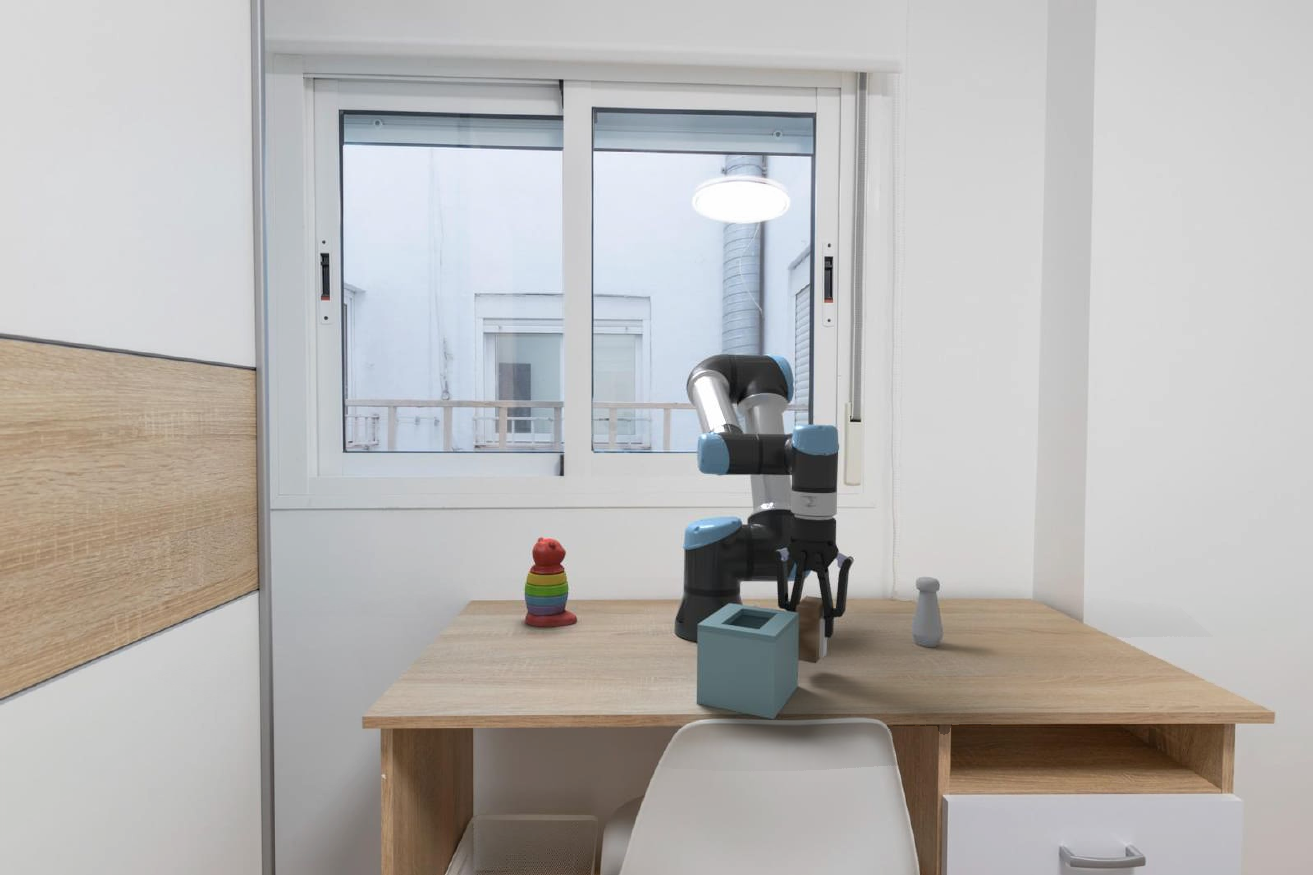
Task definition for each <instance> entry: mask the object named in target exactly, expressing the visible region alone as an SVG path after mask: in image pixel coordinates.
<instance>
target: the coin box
mask: <svg viewBox="0 0 1313 875" xmlns="http://www.w3.org/2000/svg"><path fill="white" fill-rule="evenodd" d="M696 644H697V648H696V650H697V651H696V653H697V655H696V656H697V657H696V661H697V662H696V704H700V705H703V706H704V705H705V706H708V707H713V708H718V709H722V710H727V711H728V710H729V711H733V712H737V713H741V714H747V715H751V716H756V717H760V718H766V719H770V720H774V719H775V718H776V717H777V715H778V714H779V713H780V712H781V710H782V709H783V707H784V706H785V705H786V703H787V701H789V699H790V697H791V696H792V695H793V693H794V692H795V691H796V689H797V688H798V687H799V660H798V645H799V613H798V612H791V611H786V610H784V609H775V608H774V609H773V608H767V607H761V606H754V605H752V606H751V605H746V604H745V605H744V604H743V605H739V604H731V603H729V604H727V605H726V606H724V607H723V608H721V609H720V610H718V611H717V612H715V613H714V614H712V615H711V616H709V617H708V618H706V619H705V620H703V621H702V622H701V623H699V624H698V635H697V642H696Z"/></svg>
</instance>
